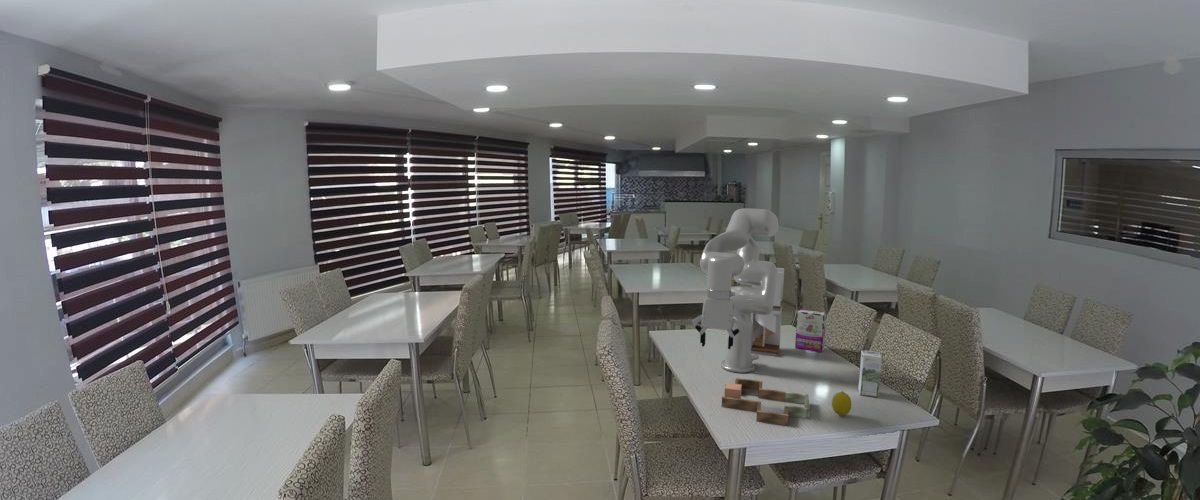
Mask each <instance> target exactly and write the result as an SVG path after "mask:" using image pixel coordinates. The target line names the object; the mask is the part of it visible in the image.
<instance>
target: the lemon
mask: <svg viewBox="0 0 1200 500" xmlns="http://www.w3.org/2000/svg"><path fill="white" fill-rule="evenodd" d="M831 408H832V410H833V412H834V413H835V414H837V415H838V416H839V417H843V416H846V415H848V414H849V413H850V412H851V409H852V399H851V397H850V396H849V395H848V394H847V393H845V392H844V391H840V392H836V393H835V394H834V395H833V397H832V400H831Z"/></svg>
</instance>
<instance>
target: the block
mask: <svg viewBox="0 0 1200 500" xmlns="http://www.w3.org/2000/svg"><path fill="white" fill-rule="evenodd" d="M725 384H726V386H725V385H724V396H723V397H730V398H737V399H742V394H741V387H742V385H741V384H735V383H733V382H726V383H725Z"/></svg>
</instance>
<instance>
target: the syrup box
mask: <svg viewBox="0 0 1200 500" xmlns="http://www.w3.org/2000/svg"><path fill="white" fill-rule="evenodd" d="M860 352H861V353H860V365H859V372H858V373H859V374H858V385H857V389H858V393H859V396H864V397H865V396H866V397H872V398H879V391H880V380H881V372H882V362H883V358H882V355H881V353H880V352H879V351H874V350H863V349H862V350H861V351H860Z"/></svg>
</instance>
